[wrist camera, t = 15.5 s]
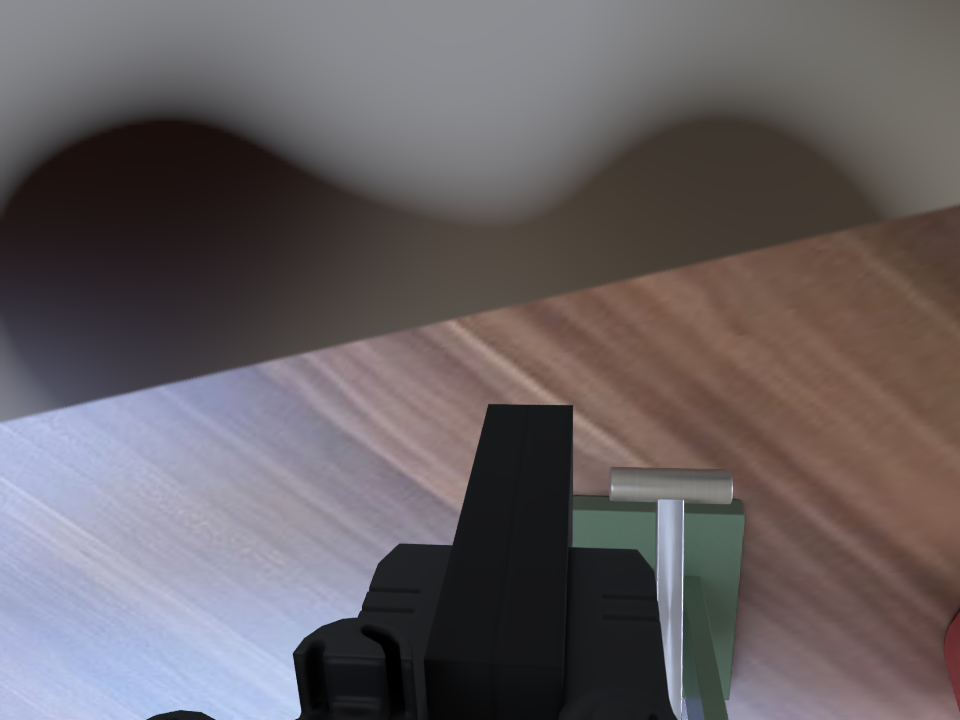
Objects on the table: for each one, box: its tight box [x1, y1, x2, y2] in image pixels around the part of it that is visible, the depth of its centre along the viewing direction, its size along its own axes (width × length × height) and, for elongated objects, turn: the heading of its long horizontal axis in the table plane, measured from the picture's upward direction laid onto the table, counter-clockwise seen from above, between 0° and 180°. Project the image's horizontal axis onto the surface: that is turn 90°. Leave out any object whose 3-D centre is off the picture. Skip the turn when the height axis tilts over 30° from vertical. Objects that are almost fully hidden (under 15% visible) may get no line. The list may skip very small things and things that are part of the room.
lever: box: [609, 467, 733, 720], centre depth 36 cm, size 14×5×2 cm, turn 2°
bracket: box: [572, 496, 745, 720], centre depth 41 cm, size 12×9×14 cm
